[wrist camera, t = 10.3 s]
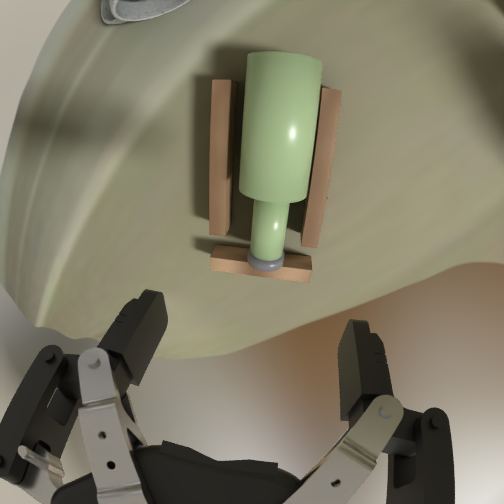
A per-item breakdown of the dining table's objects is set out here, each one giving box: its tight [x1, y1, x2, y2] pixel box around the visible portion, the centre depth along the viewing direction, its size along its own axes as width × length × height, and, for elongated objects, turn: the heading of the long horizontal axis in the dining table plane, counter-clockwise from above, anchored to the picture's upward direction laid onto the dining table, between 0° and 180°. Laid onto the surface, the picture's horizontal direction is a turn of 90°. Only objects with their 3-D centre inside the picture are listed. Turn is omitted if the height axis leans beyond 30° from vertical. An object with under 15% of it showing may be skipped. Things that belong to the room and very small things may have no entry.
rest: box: [209, 80, 342, 283], centre depth 23 cm, size 10×18×2 cm, turn 175°
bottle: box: [239, 51, 323, 272], centre depth 21 cm, size 6×6×18 cm
